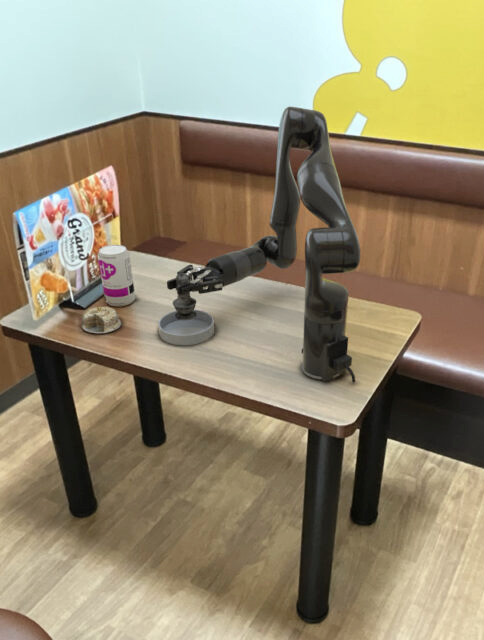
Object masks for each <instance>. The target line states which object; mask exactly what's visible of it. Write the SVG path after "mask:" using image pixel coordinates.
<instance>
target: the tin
mask: <svg viewBox="0 0 484 640" xmlns="http://www.w3.org/2000/svg"><path fill="white" fill-rule="evenodd" d="M193 311H194V312H196V317H195V318H193V319H190V320H179V319H177V318H176V317H175V314H176V313H177V311H176V310H173V311H170V312H168V313H166V314H164V315H163V316H162V317H161V318H160V319H159V320H158V323H157V324H158V325H157V327H158V334H159V337H160V339H161V340H163V341H164V342H165V343H168V344H171V345H173V346H193V345H197V344H201V343H203V342H206V341H208V340H210V339H211V338H212V337H213V335H214V334H215V320H214V317H213V316H212V315H211V314H210V313H208V312H206V311H203V310H200V309H196V308H195V309H194V310H193Z"/></svg>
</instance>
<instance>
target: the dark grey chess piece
mask: <svg viewBox="0 0 484 640" xmlns="http://www.w3.org/2000/svg"><path fill="white" fill-rule="evenodd" d="M180 270H181V271H180ZM180 270H179V271H180V272H181V273H180V274H178V275H177V274H176V276H175V278H176V282H177V286H180V285H182V284H185V283H188V276H187V274H185V273H182V272H183V271H182V269H180ZM175 291H177V287H176V288H175ZM172 306H173V308H174V309H175V311H177V313H176V314H175V317H176V318H177V319H179V320H190V319H193V318H195V317H196V312H194V311H193V310H194V309H195V310H196V306H197V299H196V298H194V297H192V296H191V292H189V293H186V294H183V295H178V294H177V298H175V299H174V300H173V301H172Z"/></svg>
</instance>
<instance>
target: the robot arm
mask: <svg viewBox="0 0 484 640" xmlns="http://www.w3.org/2000/svg"><path fill="white" fill-rule="evenodd" d="M330 142H331V141H330V135H329V127H328V122H327V119H326V116H325V114H324V113H322V112H321V111H319V110H316V109H309V108H305V107H304V108H303V107H297V106H287V107H286V108H284V109H283V112H282V113H281V117H280V120H279V125H278V132H277V144H276V145H277V147H276V159H275V181H274V193H273V199H272V205H271V210H270V216H269V226H270V228H271V230H273V231H274V233H275V234H276V235H273V234H272V235H270V234H269V235H266V236H265V235H264V236H263V237H261V238H260V239H258V240H257V241H256V242H254V243H253V244H252V245H250V246H249V247H246V248H243V249H240V250H237V251H236V250H235V251H230V252H227V253H225V254H222V255H219V256H216V257H213V258H210V259H209V260H208V261H207V263H206V265H205V266H200V267H199V266H198V267H197V268H195V267H194V265H193V264H188V265H186V266H185V267H183V268H181V269H180V270H178V271H177V272H176V276H177V275H178V274H180V273H181V272H180V271H181V270H182V271H183V272H182V273H185V274H187V276H188V283H185V284H182V285H180V286H177V282H176V277H174V278H171V279H168V280H167V281H166V288H167V289H168V290H169V291H171V290H174V289H176V287H177V290H176V294H177V296H178V295H183V294H186V293H189V292H190V293H191V292H192V293H197V292H198V294H199V295H203V294H208V293H213V292H219V291H220V292H221V291H223V288H224V287H227V286H229V285H232V284H235V283H238V282H240V281H243V280H244V279H247V278H248V277H252V276H255V275H256V274H258V273H260V272H263V271H264V270H265V269H266V267H267V265H268V264H267V263H270V264H271V265H273V266H274V267H276V268H278V269H281V270H286V269H288V268H290V267H291V266H292V265H293V264H294V262H295V260H296V257H297V253H298V243H297V240H298V239H297V226H296V225H297V222H298V217H299V211H300V206H301V203H302V205H303V206H304V207H305V208H306V209H307V210H308V212H310V213H311V214H312V215H313V216H315V217H316V218H318V220H320V221H321V222H323V223H324V224H325V225H326V226H327V227H313V228H310V229H309V230H308V231H307V232H306V235H305V239H304V269H305V270H304V273H305V274H304V278H305V279H304V309H303V311H304V312H303V313H304V315H303V339H302V340H303V341H302V342H303V343H302V349H301V354H302V364H301V371H302V372H303V374H304V375H306V376H307V377H309V378H311V379H313V380H320V381H323V382H325V383H327V382H329V381H332V380H334V379H337V378H338V377H341V376H343V375H346V372H347V371H348V373H349V374H350V376H351V377H350V378H351V383H356V375H355V372H354V371H353V370H352V368H351V367H352V362H353V357H352V356H351V355H349V354H348V348H349V337H348V336H347V335H346V331H347V318H348V307H349V290H348V289H347V287H345V285H343V284H342V283H339V282H337V281H334V280H331V279H328V278H326V277H324V276H323V275H335V274H347V273H351V272H354V271H356V270H357V269H358V267H359V265H360V262H361V245H360V239H359V237H358V233H357V231H356V228H355V225H354V223H353V221H352V218H351V216H350V214H349V211H348V208H347V205H346V201H345V197H344V195H343V190H342V186H341V180H340V177H339V174H338V170H337V167H336V164H335V160H334V157H333V153H332V149H331V143H330ZM292 149H293V150H299V151H307V152H310V154H309V155H308V156H307V158H305V159H304V161H303V162H302V163H301V165H300V166H299V168H298V171H297V175H296V180H295V177H294V173H293V170H292V167H291V166H292V165H291V150H292Z"/></svg>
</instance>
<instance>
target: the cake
mask: <svg viewBox="0 0 484 640" xmlns="http://www.w3.org/2000/svg"><path fill="white" fill-rule="evenodd" d="M121 326H122V322H121V319H120V318H119V314H118V312H117V311H116V309H114V308H113V307H109V306H98V307H97V306H95V307H92V308H88V310H87V309H86V310H85V312H83V314H82V317H81V328H82V329H83V330H84V331H86V332H88V333H92V334H106V333H111V332H113V331H116V330H118V329H119V328H120V327H121Z"/></svg>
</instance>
